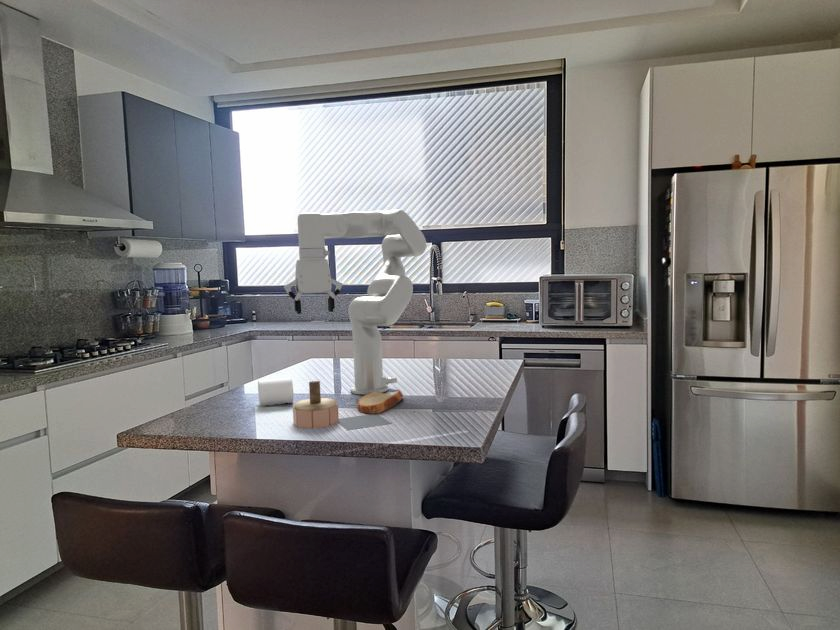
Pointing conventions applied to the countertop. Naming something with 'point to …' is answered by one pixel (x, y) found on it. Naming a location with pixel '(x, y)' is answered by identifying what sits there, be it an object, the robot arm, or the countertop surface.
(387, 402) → the bread slice
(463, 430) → the countertop surface
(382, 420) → the mat
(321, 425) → the bowl
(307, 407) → the lid
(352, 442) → the countertop surface
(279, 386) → the mug
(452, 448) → the countertop surface
